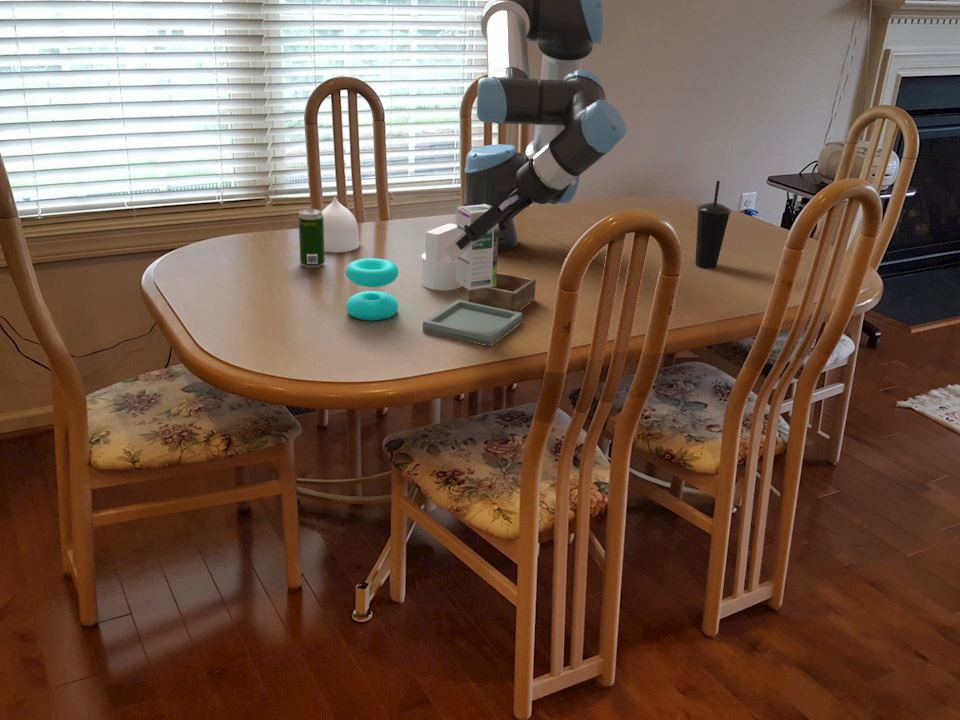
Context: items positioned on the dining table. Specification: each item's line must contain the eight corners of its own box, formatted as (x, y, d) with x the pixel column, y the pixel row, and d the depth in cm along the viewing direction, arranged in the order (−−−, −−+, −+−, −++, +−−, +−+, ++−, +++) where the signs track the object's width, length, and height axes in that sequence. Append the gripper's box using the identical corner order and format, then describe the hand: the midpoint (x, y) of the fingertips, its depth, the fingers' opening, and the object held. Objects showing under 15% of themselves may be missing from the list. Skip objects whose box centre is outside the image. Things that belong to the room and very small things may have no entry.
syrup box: (468, 291, 169) (471, 212, 163) (454, 281, 173) (456, 204, 168) (496, 287, 171) (500, 210, 165) (481, 277, 176) (484, 202, 170)
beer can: (326, 267, 205) (325, 214, 200) (302, 269, 203) (300, 215, 198) (322, 260, 209) (320, 208, 204) (298, 261, 208) (296, 209, 203)
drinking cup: (723, 272, 214) (736, 186, 206) (689, 268, 215) (701, 183, 207) (722, 262, 221) (734, 178, 213) (689, 259, 222) (700, 176, 214)
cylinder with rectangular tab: (447, 293, 193) (449, 237, 188) (412, 284, 197) (413, 229, 192) (471, 282, 200) (473, 228, 195) (436, 273, 204) (437, 220, 199)
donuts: (363, 253, 183) (407, 261, 179) (363, 301, 187) (407, 310, 183) (335, 266, 174) (381, 276, 171) (336, 316, 178) (381, 326, 175)
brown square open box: (468, 305, 187) (469, 284, 185) (490, 291, 195) (491, 270, 193) (514, 315, 183) (515, 293, 181) (534, 300, 191) (535, 279, 189)
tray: (422, 331, 173) (423, 321, 172) (457, 308, 185) (457, 299, 184) (490, 347, 168) (490, 336, 167) (521, 322, 179) (522, 313, 179)
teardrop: (346, 255, 214) (346, 204, 209) (303, 248, 217) (302, 198, 212) (367, 242, 223) (366, 193, 219) (325, 236, 227) (324, 188, 222)
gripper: (536, 203, 150) (445, 281, 163) (581, 180, 167) (495, 252, 180) (508, 166, 150) (420, 246, 163) (556, 147, 167) (472, 221, 180)
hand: (459, 249), depth 171 cm, fingers closed on syrup box, 8 cm apart
